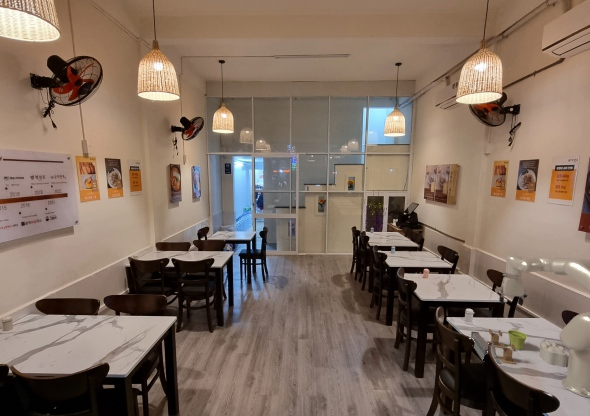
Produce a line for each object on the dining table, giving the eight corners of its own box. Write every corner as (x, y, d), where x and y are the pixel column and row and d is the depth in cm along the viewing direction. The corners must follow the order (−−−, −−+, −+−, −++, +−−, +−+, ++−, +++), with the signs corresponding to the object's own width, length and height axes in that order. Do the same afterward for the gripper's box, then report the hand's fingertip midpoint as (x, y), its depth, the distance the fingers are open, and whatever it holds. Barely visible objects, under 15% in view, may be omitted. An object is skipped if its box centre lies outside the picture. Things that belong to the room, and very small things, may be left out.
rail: (492, 357, 160) (493, 350, 159) (485, 356, 161) (485, 349, 160) (477, 338, 181) (478, 332, 180) (471, 337, 182) (471, 331, 181)
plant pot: (508, 349, 169) (509, 335, 169) (505, 341, 178) (506, 328, 177) (527, 353, 165) (529, 339, 164) (523, 345, 173) (524, 332, 173)
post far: (502, 348, 170) (503, 333, 169) (490, 346, 172) (491, 332, 171) (498, 343, 175) (499, 329, 174) (487, 342, 177) (488, 328, 176)
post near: (515, 364, 155) (517, 348, 154) (502, 362, 156) (503, 346, 156) (511, 359, 160) (512, 343, 159) (498, 357, 161) (499, 341, 160)
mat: (501, 363, 155) (501, 362, 155) (483, 361, 157) (483, 360, 157) (483, 340, 178) (483, 339, 178) (468, 338, 181) (468, 337, 181)
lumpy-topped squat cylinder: (544, 363, 156) (545, 348, 156) (535, 350, 168) (537, 337, 168) (568, 368, 152) (570, 353, 151) (558, 355, 164) (559, 341, 163)
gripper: (499, 276, 165) (497, 304, 166) (533, 279, 160) (531, 308, 162) (493, 273, 172) (491, 299, 173) (526, 275, 168) (524, 303, 169)
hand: (510, 303), depth 168 cm, fingers open, 9 cm apart
